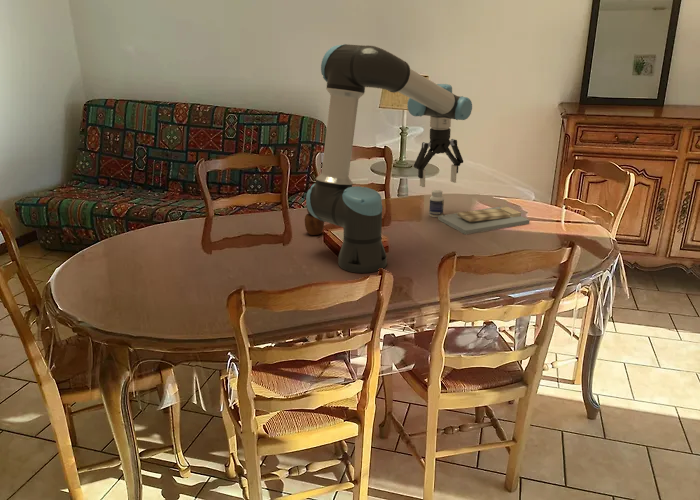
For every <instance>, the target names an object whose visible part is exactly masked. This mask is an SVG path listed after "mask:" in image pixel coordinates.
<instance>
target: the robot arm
mask: <svg viewBox="0 0 700 500" xmlns="http://www.w3.org/2000/svg"><path fill="white" fill-rule="evenodd" d="M320 73H321V76H322V78H323V80H324V81H325V82H326V90H327V92H328V94H329V95H330V98H329V106H328V107H329V108H328V115H327V124H326V132H325V140H324V149H323V158H322V164H321V165H322V166H321V173H320V174H319V175H317V176H316V177H315V183H313V184H312V185H311V186H310V188H309V189H308V190H307V192H306V195H305V197H306V198H305V204H306V209H307V208H308V211H309V212H310V213H311V215H312V216H314V217H315V218H317V219H319V220H321V221H323V222H324V223H329V224H331V225H334V226H338V227H340V228H343V230H342V231H343V241H342V244H341V247H340V250H339V253H338V258H337V259H338V260H337V262H338V263H337V264H338V266H339V268H341V269H342V270H344V271H347V272H350V273H357V274H358V273H359V274H364V273H365V274H367V273H368V274H369V273H374V272H378V269H379V268H383V269H384V268H385V267H387V264H388V256H387V252H386V251H385V247H384V244H383V241H382V225H383V203H382V201H383V200H382V195H381V194H380V193H379V192H378V191H377V190H375V189H373V188H370V187H367V186H360V185H357V186H356V185H355V186H353V182H352V179H350V177H349V176H350V167H351V161H352V153H353V147H354V146H353V145H354V136H355V129H356V121H357V115H358V107H359V106H358V105H359V99H360V98H361V97H362V96H364V95H365V92H366V88H374V89H382V90H386V91H388V92H390V93H400V94H401V95H403V96H405V97H407V98H408V100H407V111H408V112H409V114H410V115H411V116H413V117H422V116H428V117H430V119H429V120H430V121H429V127H430V129H429V141H428V142H426V141H425V142H424V141H422V142H421V148H420V151H419V152H418V155H417V157H416V160H415V162H414V164H413V168H414V169H417V170H418V171H417V173H418V174H417V175H418V179H419V187H421V188H425V187H426V173H427V171H426V169H425V168H426V167H427V166H428V163H429V162H430V161H431V160H432V158H433V157H434V156H436V155H438V154H439V155H440V154H446V156H447V157H448V159H449V160H450V161H451V162H452V164H450V182H452V183H454V184H455V183H457V174H459V167H460V166H461V164H463V163H464V160H463V157H462V154H461V152H460V149H459V146H458V140H457V139H455V138H451V127H452V126H451V124H452V120H456V121H466V120H467V119H469V117H470V116H471V115H472V111H473V103H472V100H471V99H470V98H469V97H466V96H463V95H462V96H461V95H460V96H459V95H456V94H455V93H453V87H452V85H451V84H447V83H435V82H434V81H431V79H429V78H427V77H425V76H423V75H422V74H421V73H419V72H417V71H416V70H413V69H411V67H410V65H409V63H408V62H406V60H403V59H402V58H400V57H398V56H397V55H395V54H393V53H391V52H389V51H387V50H385V49H384V48H380V47H378V46H375V45H363V44H361V45H359V44H349V43H348V44H346V43H344V44H336V45H333V46H331V47H330V48H329V49H328V50H327V51H326V52H325V53H324V55H323V58H322V59H321V64H320ZM449 147H450V148H451V149H452V150H451V149H450V148H449ZM452 151H453V153H452Z"/></svg>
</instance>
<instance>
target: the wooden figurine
mask: <svg viewBox="0 0 700 500" xmlns="http://www.w3.org/2000/svg"><path fill="white" fill-rule="evenodd" d="M306 211H307V214H305V216H304V227H305V231H306V232H307V234H308V235H311V236H319V235H320V234H322V233H323V231H324V226H325V222H323V221H321V220H319V219H317V218H315V217H314V216H312V215H311V213H310V212H309V211H308V208H307V207H306Z"/></svg>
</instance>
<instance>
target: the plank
mask: <svg viewBox="0 0 700 500" xmlns="http://www.w3.org/2000/svg"><path fill="white" fill-rule="evenodd" d="M487 209H488V208H487ZM477 210H478V211H475V210H469V211H460V212H457V213H458V214H457V216H459V217H461V218H463V219H465V220H467V221H469V222H473V221H482V220H492V219H501V218H510V214H508V213H506V212H504V211H502V210H499V209H488V210H481V209H477Z"/></svg>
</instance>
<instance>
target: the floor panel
mask: <svg viewBox="0 0 700 500" xmlns="http://www.w3.org/2000/svg"><path fill="white" fill-rule="evenodd" d="M488 209H499V210H502V211H504V212H506V213H508V214H510V218H501V219H492V220H482V221H473V222H469V221H467V220H465V219H463V218H461V217H459V216H457V214H458V212H457V213H456V212H455V213H449V214H443V215H442V216H439V217H437V218H438V221H440V222H442V223H443V224H445V225H447V226H449V227H450V228H453V230H454V229H455V230H456V231H458V232H460V233H461V234H462V235H463V234H464V235H471V234H478V233H483V232H489V231H494V230H500V229H506V228H512V227H518V226H522V225H523V226H525V225H529V224H530V219H528V218H526V217H523V216H522V212H520V211H518V210H516V209H513V208H512V207H509V206H505V207H501V206H496V207H489V208H483V209H480V210H488ZM478 210H479V209H476V210H475V209H474V211H478Z"/></svg>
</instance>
